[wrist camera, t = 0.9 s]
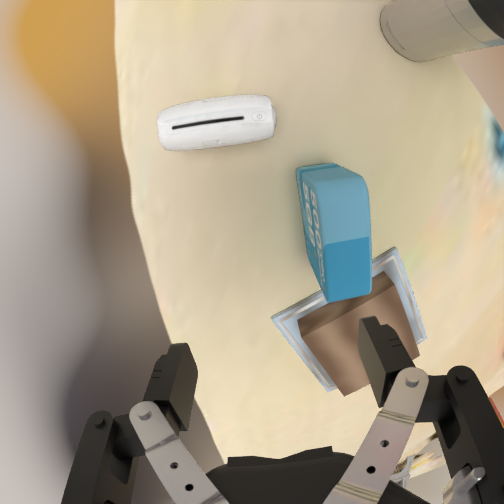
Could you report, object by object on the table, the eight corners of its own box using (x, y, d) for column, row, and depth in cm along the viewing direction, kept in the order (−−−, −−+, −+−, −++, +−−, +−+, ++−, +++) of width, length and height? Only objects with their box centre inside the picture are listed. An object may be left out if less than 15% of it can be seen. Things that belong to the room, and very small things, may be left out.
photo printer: (267, 101, 31) (277, 87, 20) (271, 137, 33) (282, 141, 22) (178, 112, 32) (143, 106, 20) (182, 147, 33) (150, 158, 22)
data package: (294, 166, 35) (316, 185, 24) (331, 160, 34) (368, 177, 23) (307, 258, 39) (329, 309, 28) (340, 251, 39) (372, 300, 28)
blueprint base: (394, 246, 39) (409, 261, 34) (425, 335, 45) (436, 352, 41) (271, 316, 43) (273, 337, 38) (327, 389, 49) (332, 409, 45)
